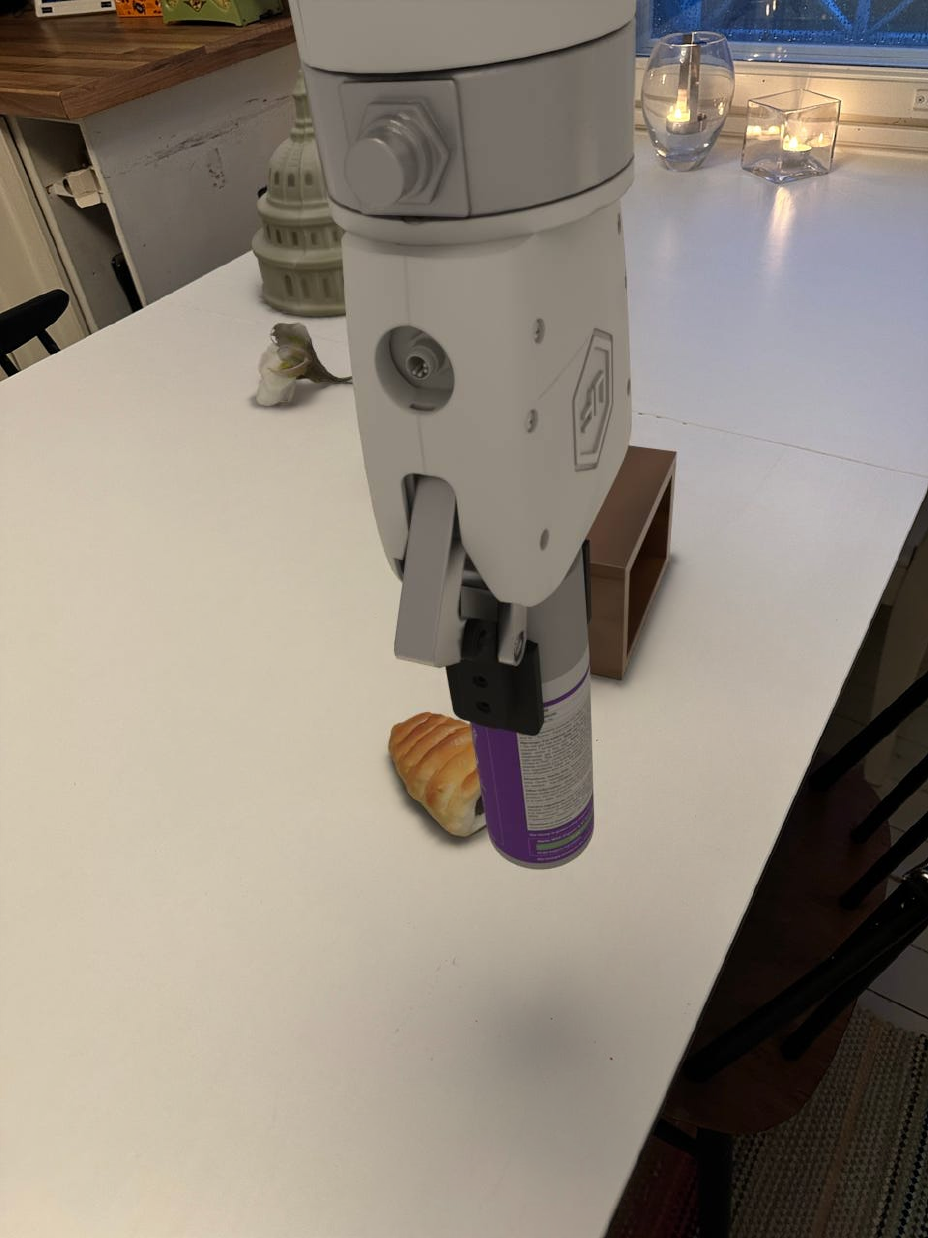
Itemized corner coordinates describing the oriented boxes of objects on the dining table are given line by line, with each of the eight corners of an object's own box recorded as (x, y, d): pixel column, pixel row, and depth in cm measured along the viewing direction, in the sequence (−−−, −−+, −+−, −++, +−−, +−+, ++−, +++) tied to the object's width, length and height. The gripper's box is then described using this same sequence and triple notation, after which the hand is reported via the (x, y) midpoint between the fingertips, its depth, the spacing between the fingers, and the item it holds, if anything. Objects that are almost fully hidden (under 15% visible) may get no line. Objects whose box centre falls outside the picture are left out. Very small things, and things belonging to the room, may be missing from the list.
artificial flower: (455, 419, 96) (426, 344, 88) (263, 432, 103) (220, 364, 95) (469, 359, 100) (443, 282, 92) (284, 375, 107) (245, 305, 99)
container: (470, 805, 41) (422, 538, 32) (563, 766, 43) (545, 496, 33) (515, 888, 38) (478, 618, 28) (614, 843, 39) (612, 568, 29)
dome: (322, 42, 116) (423, 58, 104) (356, 243, 133) (446, 277, 120) (180, 79, 107) (271, 101, 95) (235, 290, 124) (318, 332, 112)
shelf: (669, 559, 74) (677, 451, 67) (621, 680, 64) (625, 568, 58) (538, 536, 77) (533, 432, 71) (475, 648, 68) (463, 539, 61)
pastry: (365, 766, 61) (356, 727, 58) (442, 711, 64) (436, 671, 61) (461, 851, 55) (455, 812, 53) (540, 786, 58) (538, 746, 56)
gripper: (491, 276, 15) (548, 891, 27) (708, 35, 26) (680, 546, 38) (126, 257, 18) (326, 825, 30) (465, 46, 29) (511, 521, 41)
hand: (525, 664), depth 34 cm, fingers closed on container, 4 cm apart
